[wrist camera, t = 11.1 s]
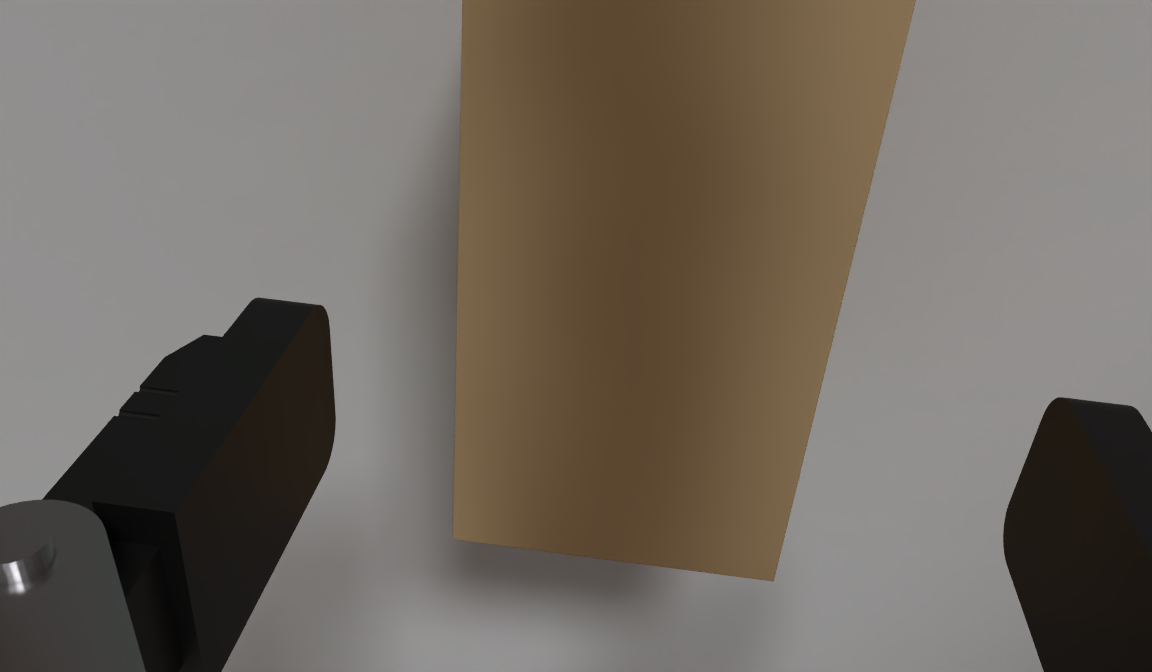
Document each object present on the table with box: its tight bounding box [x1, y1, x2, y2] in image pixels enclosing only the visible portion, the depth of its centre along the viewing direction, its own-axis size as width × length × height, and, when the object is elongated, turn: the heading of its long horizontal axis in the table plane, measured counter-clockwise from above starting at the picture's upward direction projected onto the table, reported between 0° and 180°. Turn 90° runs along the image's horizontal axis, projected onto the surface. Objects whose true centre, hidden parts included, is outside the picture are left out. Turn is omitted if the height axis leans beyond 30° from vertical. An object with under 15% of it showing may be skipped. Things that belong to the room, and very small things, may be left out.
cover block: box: [453, 0, 916, 581], centre depth 16 cm, size 5×9×6 cm, turn 175°
